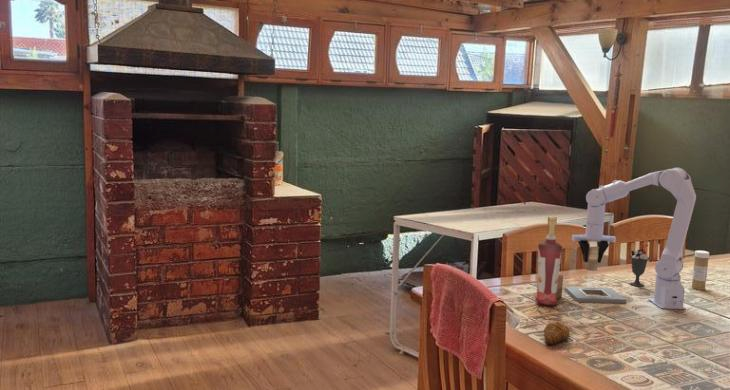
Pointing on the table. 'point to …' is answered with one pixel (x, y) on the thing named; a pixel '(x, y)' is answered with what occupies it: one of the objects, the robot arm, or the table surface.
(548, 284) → the liquor
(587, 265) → the slim peg
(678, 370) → the table surface
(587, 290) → the socket board
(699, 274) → the sprinkles bottle
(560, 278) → the fat peg
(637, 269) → the sundae
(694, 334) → the table surface
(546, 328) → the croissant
